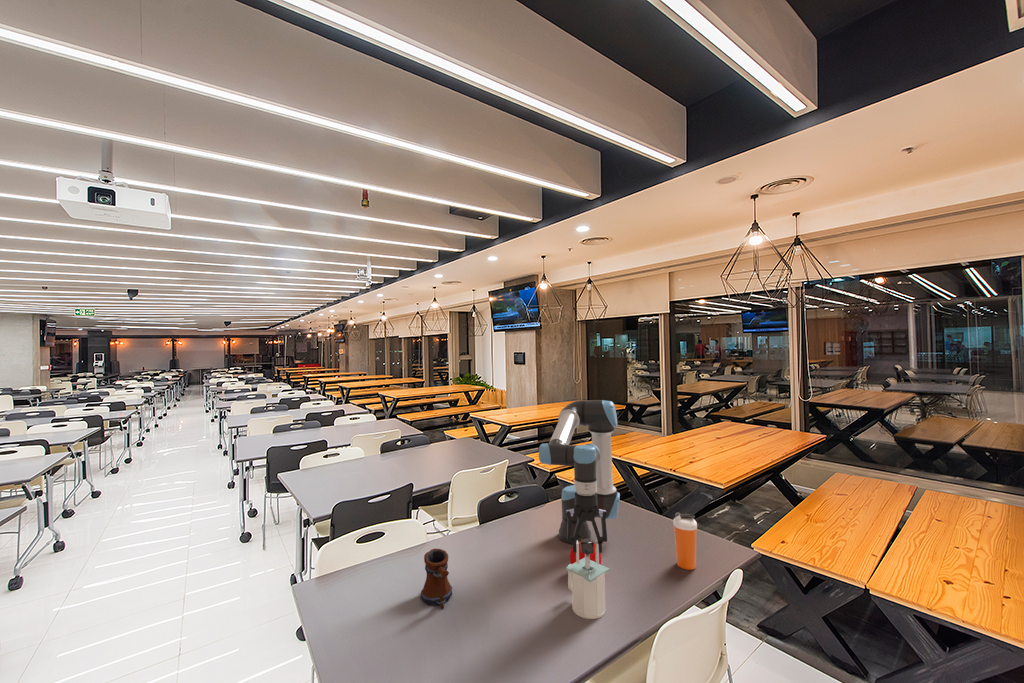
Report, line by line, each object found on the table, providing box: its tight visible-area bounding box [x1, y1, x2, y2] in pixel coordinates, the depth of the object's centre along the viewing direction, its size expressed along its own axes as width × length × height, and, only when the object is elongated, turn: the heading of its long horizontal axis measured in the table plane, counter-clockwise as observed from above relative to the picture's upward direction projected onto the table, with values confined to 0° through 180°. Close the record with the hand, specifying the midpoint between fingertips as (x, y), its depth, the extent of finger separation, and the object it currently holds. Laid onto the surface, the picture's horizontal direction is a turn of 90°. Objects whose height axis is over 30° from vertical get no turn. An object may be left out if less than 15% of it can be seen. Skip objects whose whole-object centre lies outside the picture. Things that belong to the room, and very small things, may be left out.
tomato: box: [569, 539, 602, 565], centre depth 156 cm, size 12×12×13 cm
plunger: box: [580, 538, 594, 571], centre depth 135 cm, size 8×8×18 cm
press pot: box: [565, 558, 610, 620], centre depth 136 cm, size 14×11×13 cm
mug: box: [420, 548, 453, 609], centre depth 141 cm, size 18×12×15 cm, turn 25°
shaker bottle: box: [672, 511, 698, 571], centre depth 162 cm, size 9×9×20 cm
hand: (587, 561), depth 136 cm, fingers open, 6 cm apart
